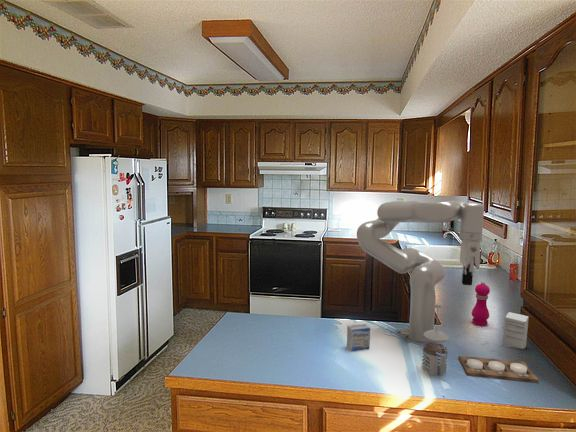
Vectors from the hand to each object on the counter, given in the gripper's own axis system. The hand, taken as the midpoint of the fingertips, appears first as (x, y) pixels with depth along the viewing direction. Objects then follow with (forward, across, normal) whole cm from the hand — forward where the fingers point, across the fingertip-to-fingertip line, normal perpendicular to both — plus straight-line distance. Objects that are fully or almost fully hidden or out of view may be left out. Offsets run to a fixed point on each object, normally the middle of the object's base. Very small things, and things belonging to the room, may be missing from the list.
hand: (466, 284), depth 151 cm
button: (+27, -14, -8) cm, 31 cm away
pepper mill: (+27, +32, -15) cm, 45 cm away
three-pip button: (+27, -14, -1) cm, 30 cm away
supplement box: (+27, +10, -22) cm, 36 cm away
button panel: (+27, -14, -8) cm, 32 cm away
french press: (+27, -19, +13) cm, 36 cm away
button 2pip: (+27, -14, -15) cm, 34 cm away
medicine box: (+27, -4, +39) cm, 48 cm away
